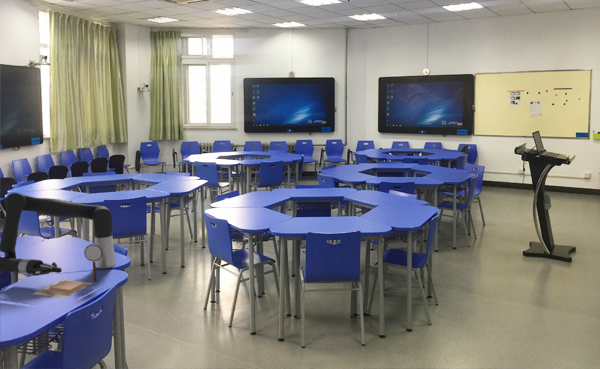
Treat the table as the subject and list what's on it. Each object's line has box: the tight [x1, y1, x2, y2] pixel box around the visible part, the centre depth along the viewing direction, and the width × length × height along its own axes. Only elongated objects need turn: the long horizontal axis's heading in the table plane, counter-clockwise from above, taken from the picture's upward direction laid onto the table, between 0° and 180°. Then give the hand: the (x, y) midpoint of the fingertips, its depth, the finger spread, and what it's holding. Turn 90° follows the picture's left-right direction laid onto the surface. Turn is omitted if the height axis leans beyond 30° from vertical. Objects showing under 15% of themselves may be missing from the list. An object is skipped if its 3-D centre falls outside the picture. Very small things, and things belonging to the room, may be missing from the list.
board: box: [32, 279, 94, 299], centre depth 252 cm, size 20×18×1 cm
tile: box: [49, 279, 86, 295], centre depth 251 cm, size 10×2×12 cm
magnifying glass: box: [83, 243, 102, 282], centre depth 260 cm, size 9×2×20 cm, turn 95°
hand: (60, 270), depth 250 cm, fingers closed
